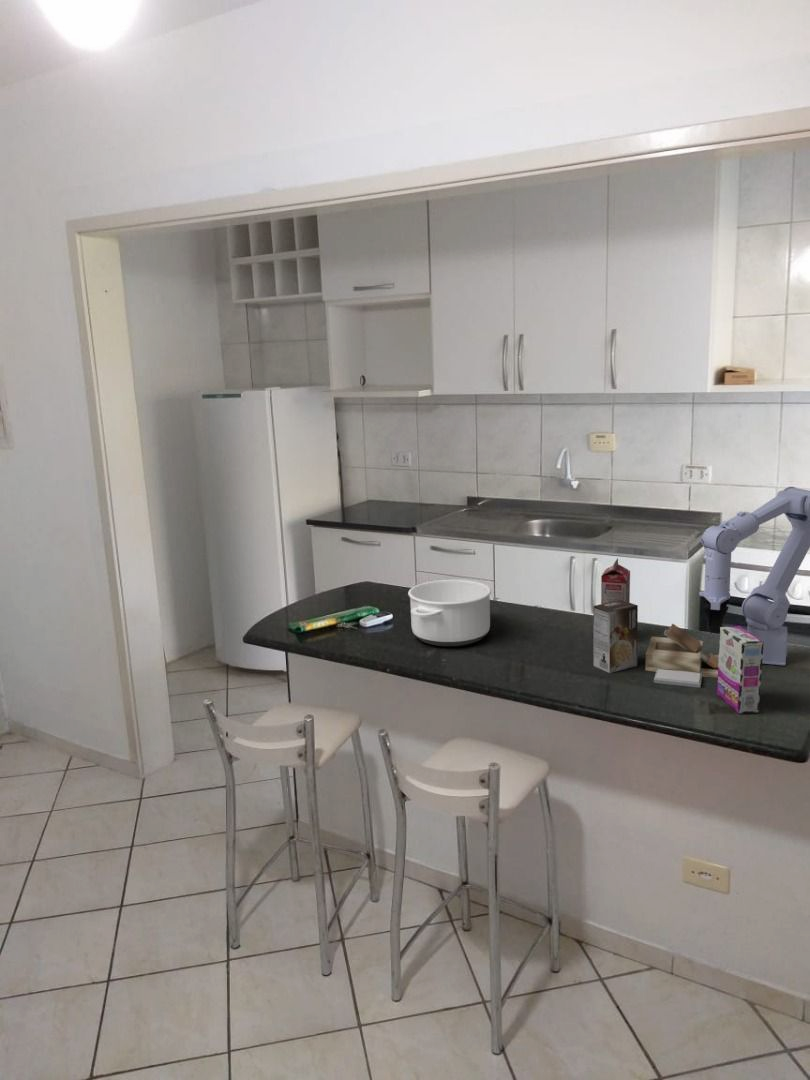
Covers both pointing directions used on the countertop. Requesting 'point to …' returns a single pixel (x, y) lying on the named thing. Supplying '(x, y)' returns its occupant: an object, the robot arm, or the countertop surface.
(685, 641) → the walnut block
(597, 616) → the coffee box
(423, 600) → the pot
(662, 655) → the pocket board
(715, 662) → the lever
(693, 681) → the grey pad
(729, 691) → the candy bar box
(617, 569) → the juice carton
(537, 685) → the countertop surface
